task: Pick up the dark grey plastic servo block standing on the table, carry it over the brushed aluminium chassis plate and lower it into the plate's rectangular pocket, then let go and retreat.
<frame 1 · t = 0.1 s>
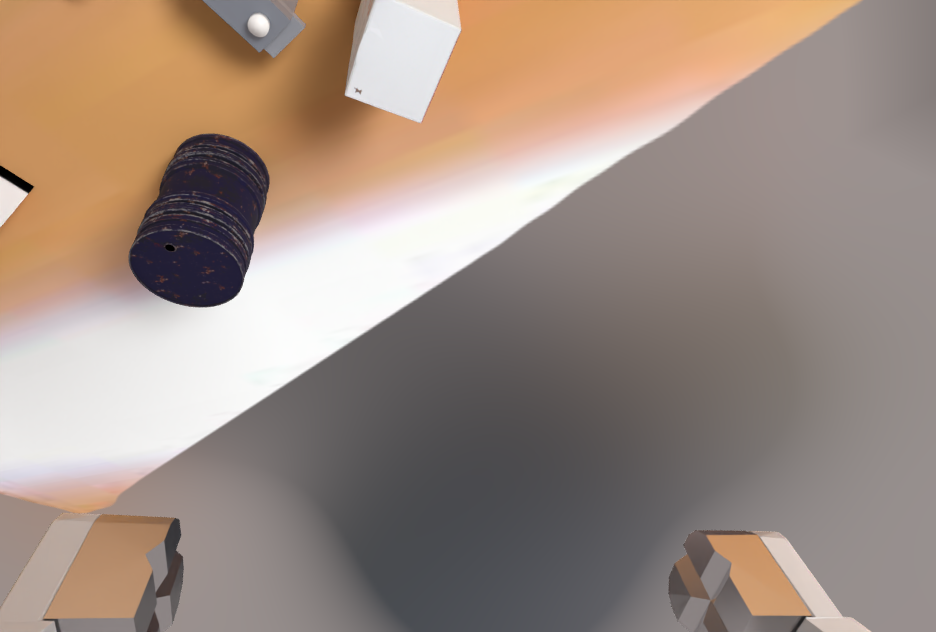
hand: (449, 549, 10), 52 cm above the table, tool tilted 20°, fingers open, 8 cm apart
dark ribbed barrel: (223, 172, 65), on the table
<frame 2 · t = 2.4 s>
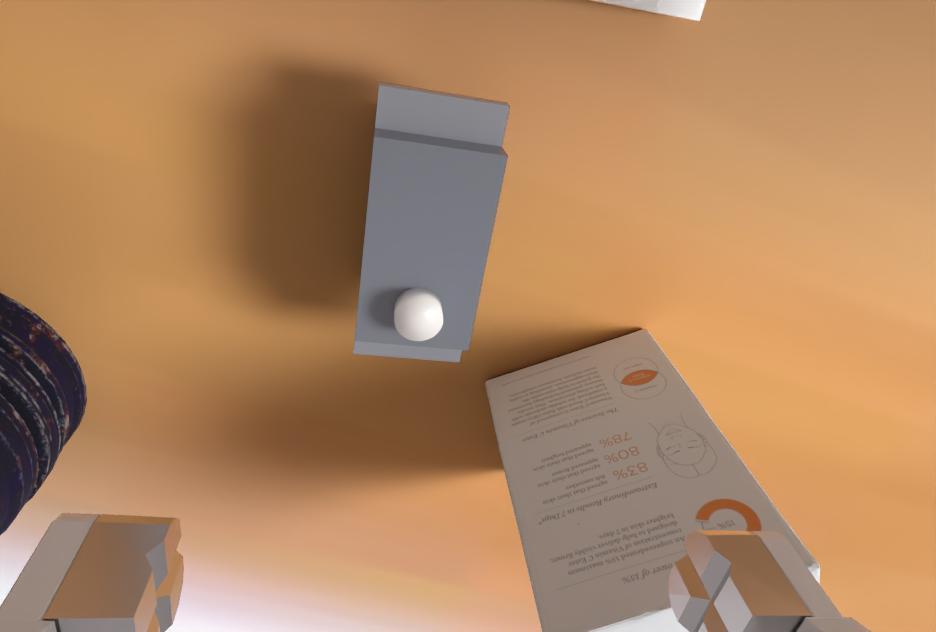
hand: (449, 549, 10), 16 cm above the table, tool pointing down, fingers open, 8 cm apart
small box: (577, 399, 30), on the table
servo: (419, 203, 24), on the table
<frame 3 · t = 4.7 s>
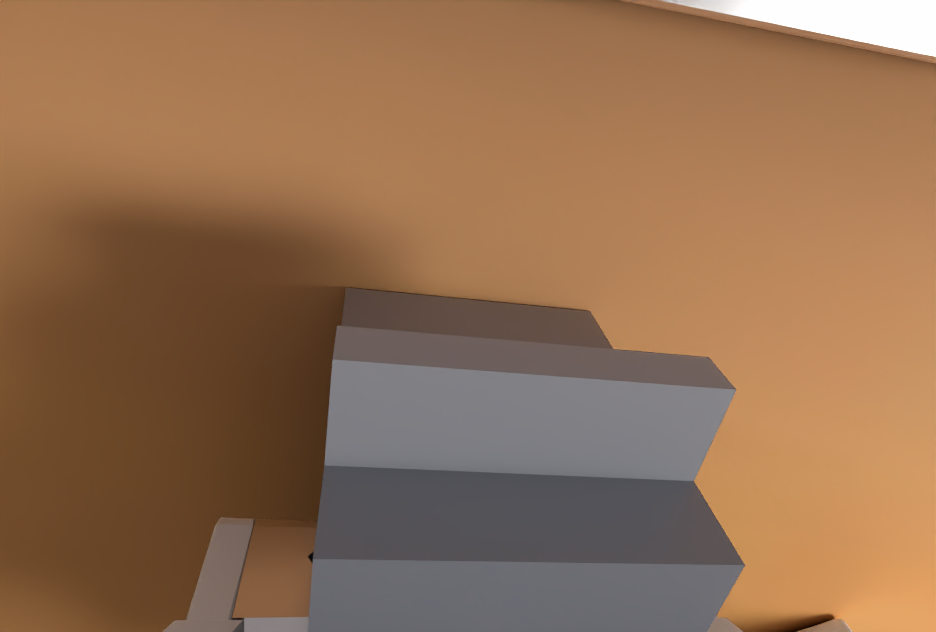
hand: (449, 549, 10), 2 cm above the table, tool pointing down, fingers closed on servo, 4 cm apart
servo: (440, 464, 11), on the table, touching gripper
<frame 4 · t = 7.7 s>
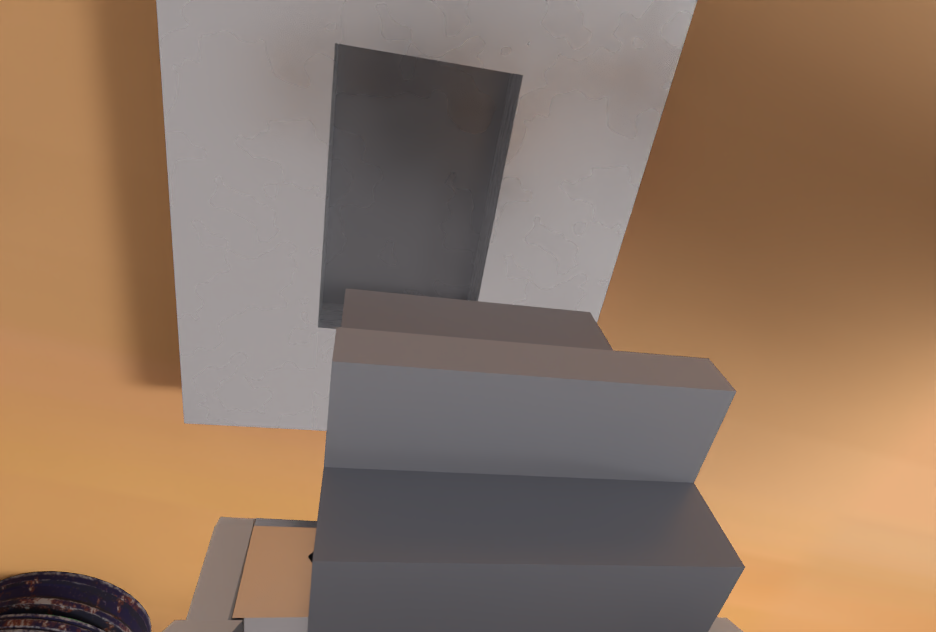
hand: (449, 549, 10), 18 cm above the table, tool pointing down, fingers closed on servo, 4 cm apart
chassis: (409, 191, 25), on the table
dark ribbed barrel: (65, 622, 36), on the table
servo: (440, 464, 11), point 16 cm above the table, touching gripper
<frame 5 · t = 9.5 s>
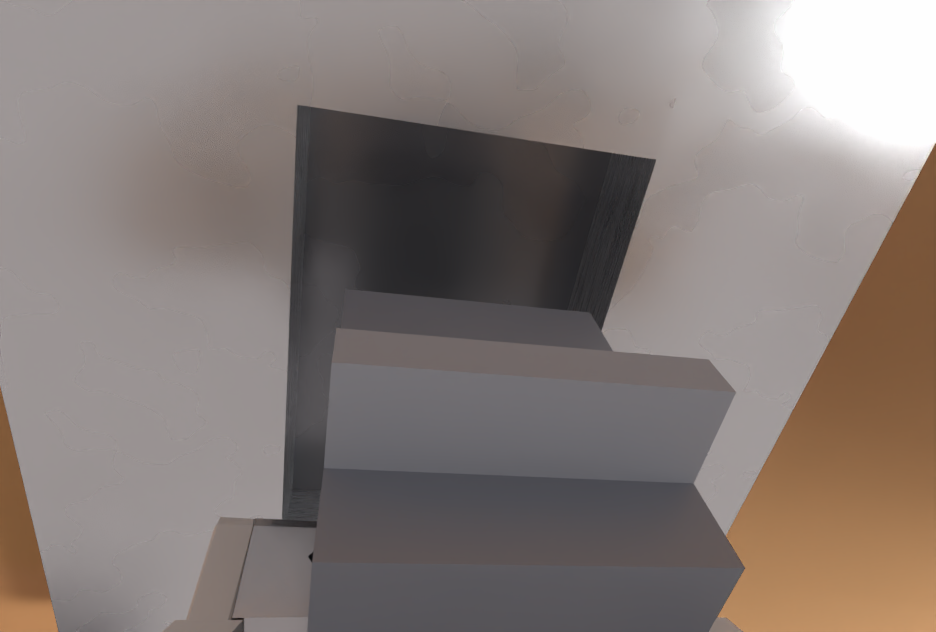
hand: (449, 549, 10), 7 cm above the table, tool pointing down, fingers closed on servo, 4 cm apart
chassis: (433, 328, 15), on the table
servo: (440, 465, 11), point 5 cm above the table, touching gripper
when the fingers open (4 cm above the table, at t = 10.9 s): servo drops 1 cm, resting on chassis.
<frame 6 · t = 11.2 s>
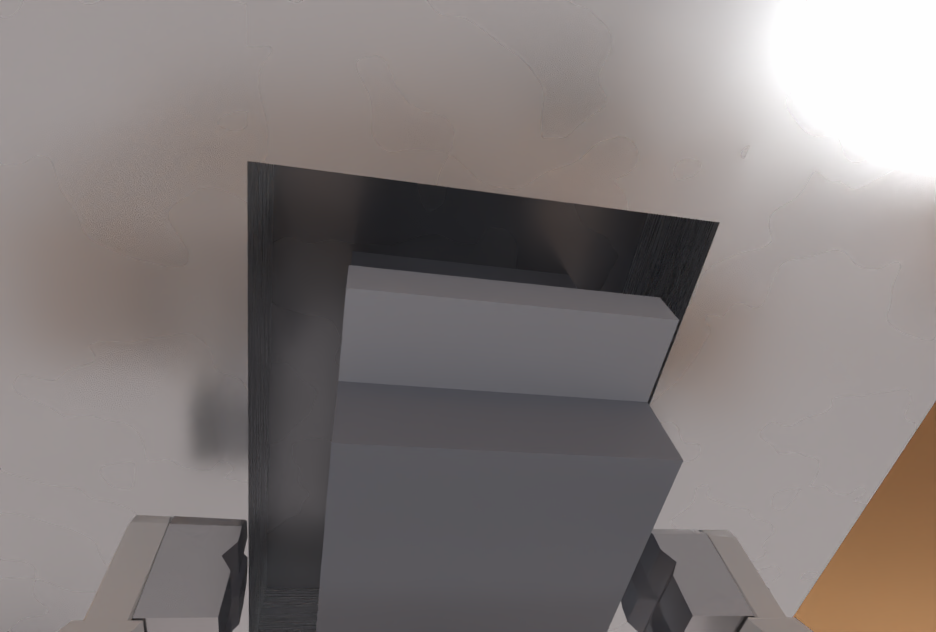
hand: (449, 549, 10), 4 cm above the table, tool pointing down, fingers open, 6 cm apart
chassis: (431, 406, 13), on the table
servo: (436, 415, 13), resting on chassis
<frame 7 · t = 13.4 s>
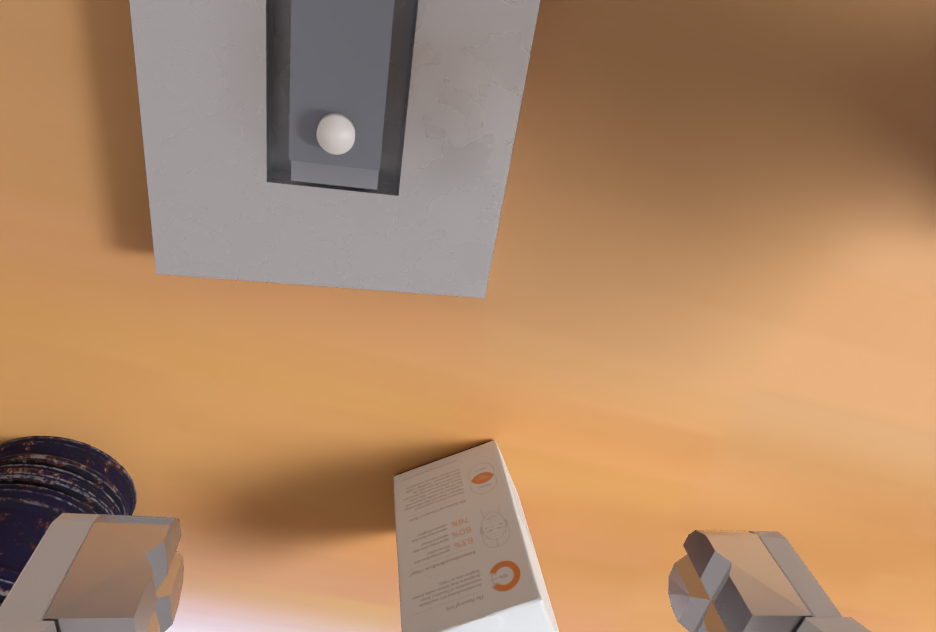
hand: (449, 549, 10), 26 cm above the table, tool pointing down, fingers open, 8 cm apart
chassis: (341, 66, 30), on the table
small box: (457, 483, 45), on the table
dark ribbed barrel: (59, 490, 40), on the table
servo: (343, 67, 30), resting on chassis
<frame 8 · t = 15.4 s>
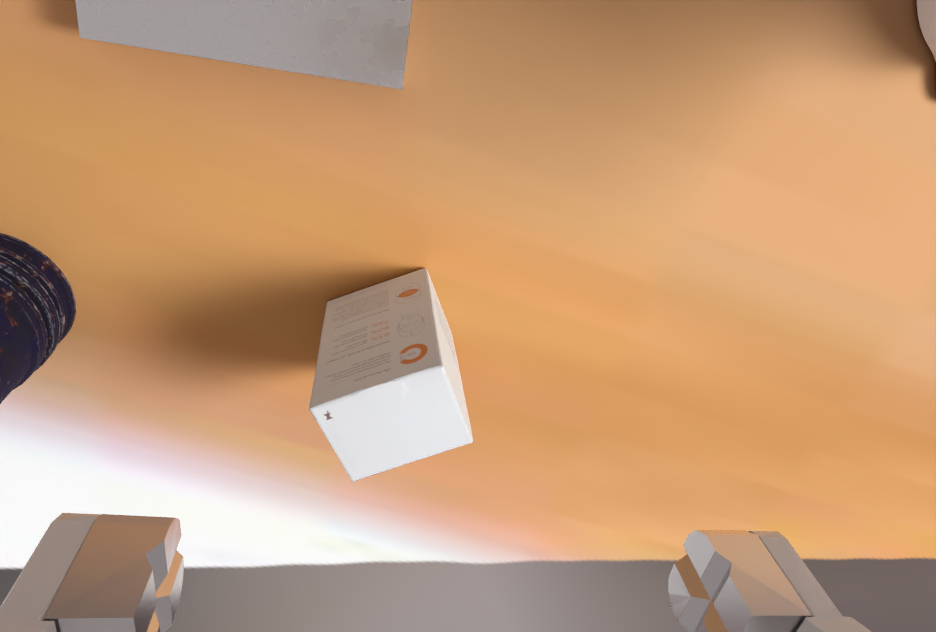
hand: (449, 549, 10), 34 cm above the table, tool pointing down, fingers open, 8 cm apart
small box: (391, 316, 47), on the table
dark ribbed barrel: (0, 293, 42), on the table
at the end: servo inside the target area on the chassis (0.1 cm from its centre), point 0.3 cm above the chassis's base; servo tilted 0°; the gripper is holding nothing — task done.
